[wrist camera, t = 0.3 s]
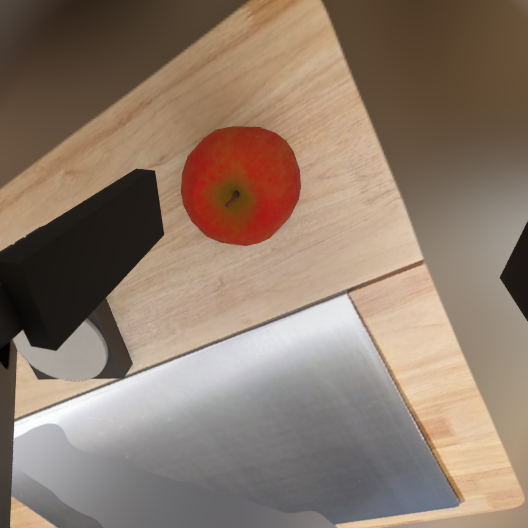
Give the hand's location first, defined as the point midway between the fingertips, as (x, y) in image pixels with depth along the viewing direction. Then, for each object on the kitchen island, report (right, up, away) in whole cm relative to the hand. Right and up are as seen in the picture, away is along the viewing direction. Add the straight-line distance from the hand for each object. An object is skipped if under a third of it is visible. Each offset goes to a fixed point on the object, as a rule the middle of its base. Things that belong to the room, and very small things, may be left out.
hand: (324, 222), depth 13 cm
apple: (-3, +7, +18) cm, 20 cm away
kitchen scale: (-26, -9, +30) cm, 41 cm away
